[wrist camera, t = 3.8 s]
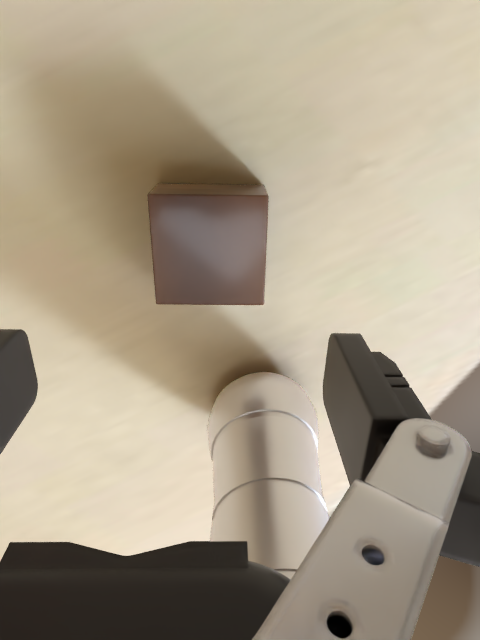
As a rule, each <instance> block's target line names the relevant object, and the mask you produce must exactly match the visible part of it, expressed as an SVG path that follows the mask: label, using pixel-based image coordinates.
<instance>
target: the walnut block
mask: <svg viewBox="0 0 480 640" xmlns="http://www.w3.org/2000/svg"><path fill="white" fill-rule="evenodd" d="M268 198H269V197H268V194H267V191H266V189H265V186H264V185H239V184H164V183H159V184H157V185H156V186H155V187H154V188H153V189H152V190H151V191H150V192H149V194H148V206H149V219H150V232H151V245H152V258H153V271H154V283H155V296H156V304H192V305H263V304H264V289H265V266H266V243H267V221H268Z"/></svg>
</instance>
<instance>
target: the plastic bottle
mask: <svg viewBox="0 0 480 640" xmlns="http://www.w3.org/2000/svg"><path fill="white" fill-rule="evenodd" d="M207 428H208V439H209V448H210V454H211V458H212V461H213V485H214V508H213V517H212V527H211V534H210V541H247V546H248V561H252V562H256V563H259V564H262V565H264V566H267V567H269V568H272V569H274V570H276V571H278V572H279V573H281V574H283V575H285V576H286V577H288V578H289V579H291V578H292V577H293V575H294V574H295V572H296V571H297V569H298V567H299V566H300V564H301V563H302V561H303V560H304V558H305V556H306V555H307V553H308V552H309V550H310V549H311V547H312V545H313V544H314V542H315V541H316V539H317V538H318V536H319V534H320V533H321V531H322V530H323V528H324V527H325V525H326V523H327V522H328V520H329V515H328V512H327V508H326V504H325V501H324V497H323V494H322V486H321V478H320V469H319V460H318V418H317V414H316V410H315V408H314V406H313V404H312V403H311V401H310V399H309V397H308V395H307V393H306V392H305V390H304V389H303V388H302V387H301V386H300V385H299V384H298V383H297V382H295V381H294V380H293V379H290V378H288V377H286V376H284V375H280V374H276V373H270V372H258V373H252V374H248V375H245V376H243V377H241V378H238V379H236V380H234V381H233V382H231V383H230V384H228V385H227V386H226V387H225V388H224V389H223V390H222V391H221V392H220V394H219V395H218V396H217V398H216V400H215V403H214V405H213V408H212V411H211V414H210V417H209V420H208V427H207Z"/></svg>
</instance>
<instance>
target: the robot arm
mask: <svg viewBox="0 0 480 640" xmlns="http://www.w3.org/2000/svg"><path fill="white" fill-rule="evenodd" d="M37 389H38V383H37V377H36V372H35V368H34V363H33V359H32V354H31V350H30V345H29V340H28V337H27V334H26V333H25V332H24V331H23V330H13V329H0V454H1V453H2V451H3V450H4V448H5V446H6V445H7V443H8V442H9V440H10V439H11V437H12V436H13V434H14V433H15V431H16V430H17V428H18V427H19V425H20V424H21V422H22V421H23V419H24V417H25V416H26V414H27V413H28V411H29V410H30V408H31V407H32V405H33V404H34V402H35V399H36V396H37ZM323 400H324V405H325V408H326V412H327V415H328V418H329V421H330V424H331V427H332V430H333V433H334V437H335V440H336V443H337V446H338V449H339V452H340V455H341V458H342V462H343V465H344V468H345V471H346V474H347V477H348V480H349V483H350V487H349V489H348V490H347V492H346V493H345V495H344V497H343V498H342V500H341V501H340V503H339V504H338V506H337V508H336V509H335V511H334V512H333V514H332V516H331V517H330V519H329V520H328V522H327V523H326V525H325V527H324V528H323V530H322V531H321V533H320V534H319V536H318V538H317V539H316V541H315V542H314V544H313V545H312V547H311V549H310V550H309V552H308V553H307V555H306V556H305V558H304V560H303V561H302V563H301V564H300V566H299V567H298V569H297V571H296V572H295V574H294V575H293V577H292V578H291V579H289V578H288V577H286V576H285V575H283V574H281V573H279V572H278V571H276V570H274V569H272V568H269V567H267V566H264V565H262V564H259V563H256V562H252V561H248V546H247V541H191V542H186V543H182V544H177V545H173V546H169V547H165V548H161V549H157V550H153V551H148V552H144V553H140V554H136V555H131V556H122V555H117V554H113V553H109V552H106V551H102V550H98V549H94V548H90V547H86V546H82V545H78V544H74V543H70V542H10V544H9V546H8V548H7V550H6V552H5V553H4V555H3V557H2V559H1V561H0V640H411V637H412V635H413V632H414V629H415V626H416V623H417V620H418V617H419V613H420V610H421V608H422V605H423V602H424V599H425V596H426V593H427V590H428V587H429V584H430V581H431V578H432V575H433V572H434V569H435V566H436V562H437V560H438V557H439V555H440V556H443V557H447V558H450V559H454V560H457V561H460V562H464V563H467V564H471V565H475V566H478V567H480V453H477V452H473V451H472V450H471V447H470V445H469V443H468V442H467V440H466V439H465V438H464V437H463V436H462V435H461V434H460V433H459V432H457V431H456V430H454V429H453V428H451V427H449V426H447V425H445V424H443V423H440V422H437V421H434V420H432V419H431V418H430V416H429V415H428V413H427V412H426V410H425V409H424V407H423V405H422V404H421V402H420V401H419V399H418V398H417V396H416V395H415V393H414V392H413V390H412V388H409V384H408V382H407V381H406V379H405V378H404V377H403V375H402V373H401V371H400V370H399V368H398V367H397V365H396V364H395V362H393V361H392V360H390V359H389V358H388V357H386V356H385V355H384V354H382V353H381V352H371V351H370V349H369V348H368V346H367V344H366V342H365V341H364V339H363V337H362V336H361V334H346V333H332V334H331V335H330V338H329V342H328V350H327V357H326V365H325V372H324V380H323Z"/></svg>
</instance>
